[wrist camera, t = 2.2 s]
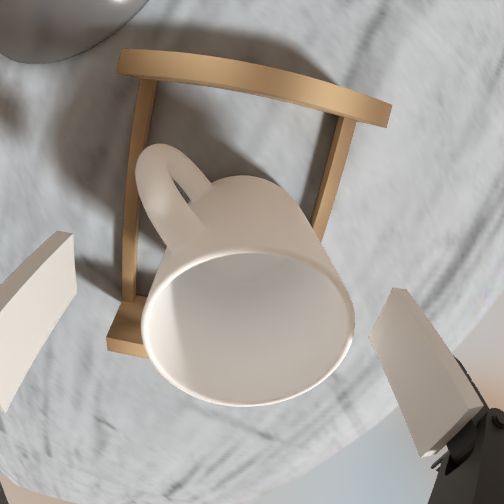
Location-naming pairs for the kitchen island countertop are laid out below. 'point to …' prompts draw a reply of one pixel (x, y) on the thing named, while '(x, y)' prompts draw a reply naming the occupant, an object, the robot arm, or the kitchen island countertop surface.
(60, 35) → the coaster
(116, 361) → the kitchen island countertop surface
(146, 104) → the caddy
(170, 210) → the mug
